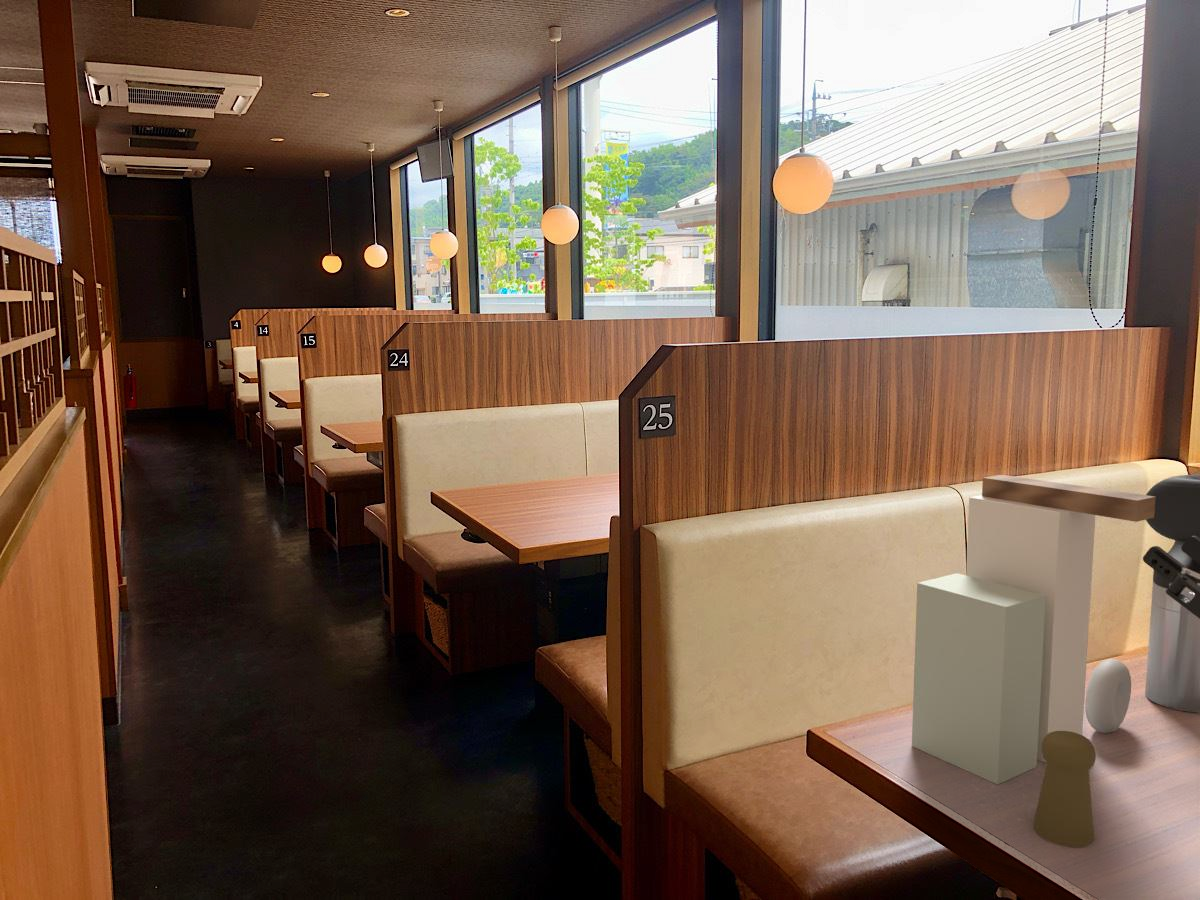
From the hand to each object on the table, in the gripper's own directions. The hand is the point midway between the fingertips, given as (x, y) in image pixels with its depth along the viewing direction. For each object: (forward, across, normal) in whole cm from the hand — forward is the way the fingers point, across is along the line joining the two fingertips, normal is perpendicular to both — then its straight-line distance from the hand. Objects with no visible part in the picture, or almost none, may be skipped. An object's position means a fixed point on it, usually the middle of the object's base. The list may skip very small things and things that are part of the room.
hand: (1167, 546), depth 106 cm
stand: (0, +5, +34) cm, 34 cm away
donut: (-5, -11, +31) cm, 34 cm away
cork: (-15, +18, +26) cm, 34 cm away
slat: (+12, 0, +4) cm, 13 cm away
